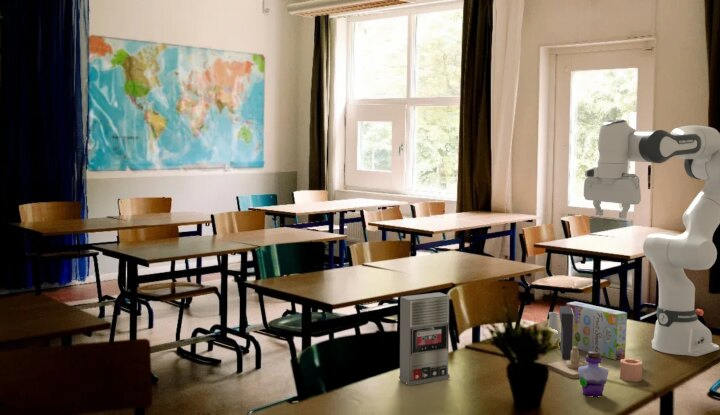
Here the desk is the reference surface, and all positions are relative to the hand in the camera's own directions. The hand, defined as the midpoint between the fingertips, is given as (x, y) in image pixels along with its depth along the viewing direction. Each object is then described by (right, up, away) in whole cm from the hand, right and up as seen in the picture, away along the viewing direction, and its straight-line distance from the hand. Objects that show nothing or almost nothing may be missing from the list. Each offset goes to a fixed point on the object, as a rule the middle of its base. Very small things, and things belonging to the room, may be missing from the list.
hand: (610, 216), depth 238 cm
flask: (-11, -44, +29) cm, 54 cm away
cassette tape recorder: (-59, -48, -13) cm, 77 cm away
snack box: (0, -45, +16) cm, 48 cm away
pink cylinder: (+2, -48, -11) cm, 49 cm away
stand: (-12, -47, -4) cm, 49 cm away
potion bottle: (-13, -49, -25) cm, 57 cm away
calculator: (-11, -46, +12) cm, 48 cm away
